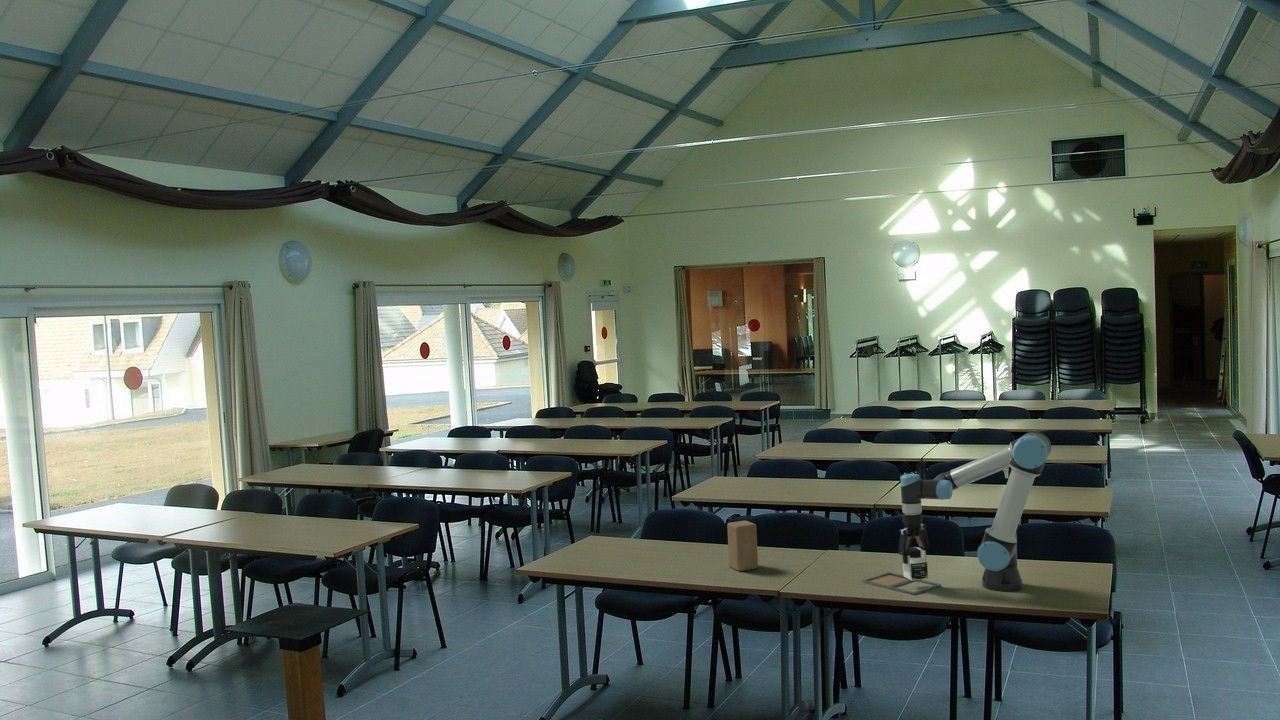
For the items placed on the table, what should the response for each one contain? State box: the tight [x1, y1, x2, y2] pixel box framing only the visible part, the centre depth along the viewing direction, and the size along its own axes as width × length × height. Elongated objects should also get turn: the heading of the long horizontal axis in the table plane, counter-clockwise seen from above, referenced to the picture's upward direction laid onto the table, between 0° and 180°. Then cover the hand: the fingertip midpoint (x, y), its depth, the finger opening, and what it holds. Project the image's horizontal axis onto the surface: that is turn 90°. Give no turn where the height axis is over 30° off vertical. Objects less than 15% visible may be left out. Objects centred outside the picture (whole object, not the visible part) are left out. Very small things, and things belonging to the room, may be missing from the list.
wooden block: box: [727, 520, 759, 572], centre depth 430 cm, size 10×10×20 cm
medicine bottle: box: [902, 546, 929, 582], centre depth 389 cm, size 7×7×12 cm
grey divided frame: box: [861, 571, 942, 596], centre depth 395 cm, size 26×17×1 cm, turn 37°
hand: (915, 568), depth 389 cm, fingers closed on medicine bottle, 9 cm apart
